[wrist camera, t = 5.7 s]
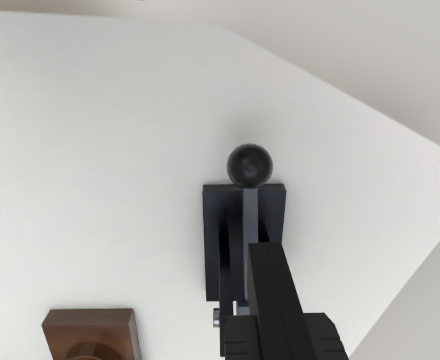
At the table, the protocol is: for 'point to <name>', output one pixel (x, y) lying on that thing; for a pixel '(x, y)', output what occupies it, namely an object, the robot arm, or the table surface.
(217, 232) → the lever base
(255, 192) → the ball knob lever
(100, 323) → the button block
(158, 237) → the table surface
